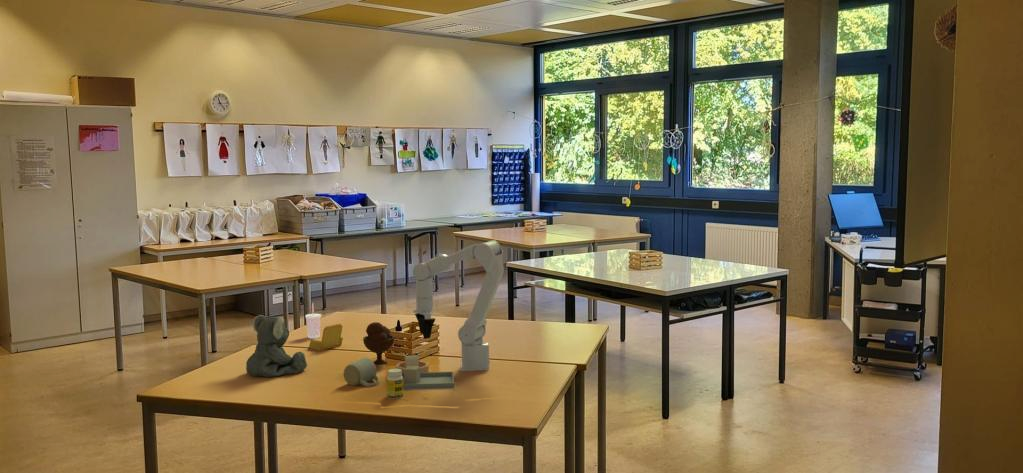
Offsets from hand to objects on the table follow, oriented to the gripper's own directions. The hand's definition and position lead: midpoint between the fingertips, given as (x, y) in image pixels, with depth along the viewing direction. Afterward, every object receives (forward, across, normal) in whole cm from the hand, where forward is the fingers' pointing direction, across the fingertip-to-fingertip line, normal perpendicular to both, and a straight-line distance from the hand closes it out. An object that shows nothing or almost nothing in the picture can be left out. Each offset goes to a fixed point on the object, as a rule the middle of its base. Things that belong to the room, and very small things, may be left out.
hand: (425, 335), depth 272 cm
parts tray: (+10, +24, -3) cm, 26 cm away
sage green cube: (+9, +11, -6) cm, 16 cm away
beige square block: (+9, +24, -8) cm, 27 cm away
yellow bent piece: (+10, -35, -33) cm, 49 cm away
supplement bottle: (+10, +36, -14) cm, 40 cm away
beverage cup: (+10, -53, -37) cm, 66 cm away
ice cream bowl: (+10, -4, -16) cm, 19 cm away
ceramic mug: (+10, +19, -23) cm, 31 cm away
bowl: (+10, +11, -6) cm, 16 cm away
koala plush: (+10, -4, -51) cm, 52 cm away
